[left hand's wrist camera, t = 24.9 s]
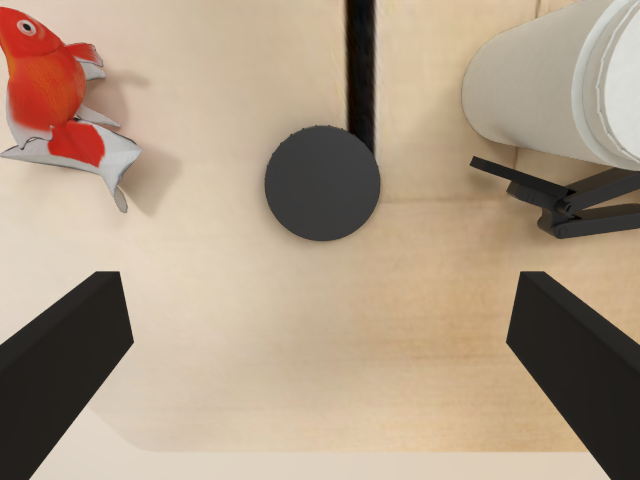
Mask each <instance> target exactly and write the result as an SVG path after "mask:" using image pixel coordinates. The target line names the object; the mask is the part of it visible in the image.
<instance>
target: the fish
mask: <svg viewBox="0 0 640 480" xmlns="http://www.w3.org/2000/svg"><path fill="white" fill-rule="evenodd" d="M0 46H1V48H2V50H3V52H4V54H5V56H6V59H7V64H8V70H9V76H10V78H9V81H8V85H7V94H6V118H7V122H8V125H9V127H10V130H11V132H12V134H13V136H14V138H15V140H16V142H17V144H18V145H17V146H14V147H12V148H10V149H8V150H6V151H4V152H2V153H0V157H3V158H9V159H15V160H21V161H27V162H33V163H40V164H47V165H54V166H61V167H67V168H73V169H78V170H83V171H88V172H92V173H95V174H98V175H101V176H102V178H103V179H104V181H105V183H106V184H107V186H108V188H109V190H110V192H111V195H112V196H113V198H114V200H115V202H116V204H117V206H118V208H119V210H120V211H121V212H123V213H127V208H128V206H127V203H126V200H125V197H124V194H123V192H122V191H121V190H120V189H119V188H118V187H117V185H118V183H119V181H120V179H121V178H122V176H123V174H124V173H125V171H126V170H127V169H128V168H129V167H130V166H131V165H132V163H133V162H134V161H135V160H136V158H137V157H138V156H139V155H140V153H141V152H142V151H143V150H142V149H141V148H140V147H139V146H138V145H137V144H136V143H135V142H134V141H133V140H131V139H128V138H126V137H124V136H121V135H119V134H117V133H114V132H112V131H110V130H107V129H105V128H103V127H101V126H98V125H95V124H92V123H99V124H106V125H111V126H116V127H121V125H119V124H118V123H116V122H114V121H113V120H111V119H109V118H108V117H106V116H104V115H102V114H100V113H98V112H95V111H93V110H91V109H89V108H87V107H86V106H84V105H83V104H82V101H83V99H84V96H85V91H86V80H93V79H98V78H105V77H106V74H105V73H104V72H103V71H102V70H100V69H99V68H97V67H96V66H94V65H93V64H95V65H97V66H100V67H103V61H102V59H101V58H100V56H99V55H98V54H97V52H96V49H95V47H94V46H93V45H92V44H86V43H75V44H70V45H65V44H64V43H63V42H62V41H61V40H60V38H59V37H57V36H56V35H55V34H54V33H52V32H51V31H50V30H49V29H48V28H47V27H46V26H44V25H43V24H41V23H40V22H38V21H37V20H35V19H34V18H32V17H30V16H29V15H27V14H25V13H23V12H20V11H18V10H15V9H11V8H5V7H0ZM91 63H92V64H91ZM75 114H76V115H77V116H78V117H79V118H80V119H78V118H75V117H74V115H75ZM73 117H74V118H73ZM81 119H82V120H81ZM90 122H92V123H90ZM32 138H37V139H34V140H31V141H29V140H30V139H32ZM27 141H29V142H27Z"/></svg>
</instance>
